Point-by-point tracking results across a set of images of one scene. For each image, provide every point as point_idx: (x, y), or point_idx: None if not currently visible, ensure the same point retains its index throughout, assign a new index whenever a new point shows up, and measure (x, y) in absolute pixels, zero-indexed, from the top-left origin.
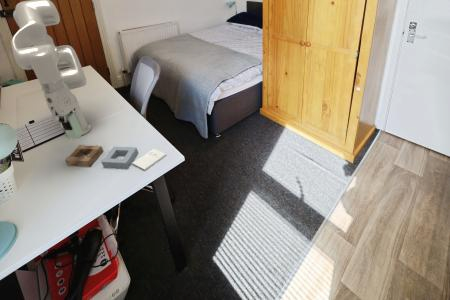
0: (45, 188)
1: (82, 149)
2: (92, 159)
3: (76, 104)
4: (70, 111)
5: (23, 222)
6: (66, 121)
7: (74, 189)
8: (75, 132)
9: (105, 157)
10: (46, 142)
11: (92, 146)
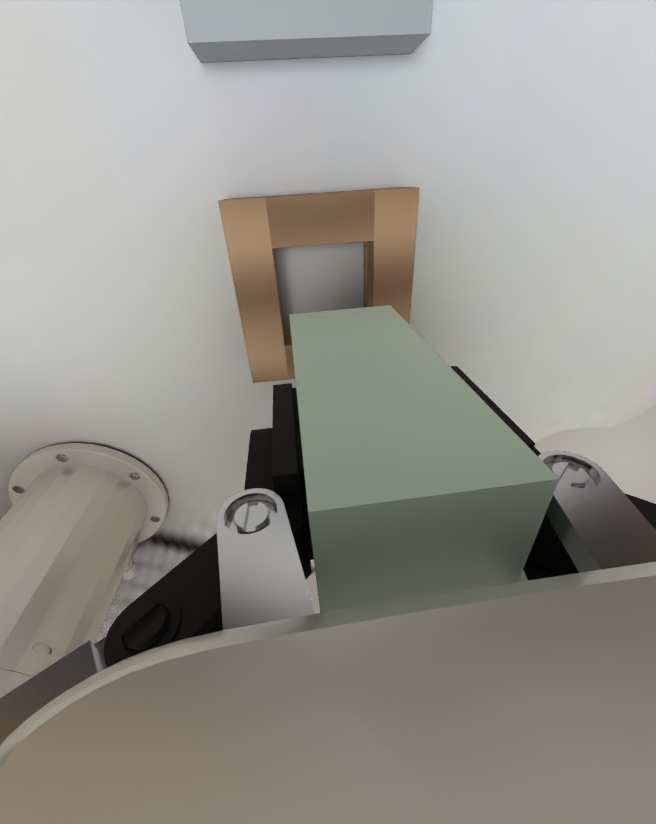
0: (563, 338)
1: (283, 337)
2: (368, 190)
3: (21, 761)
4: (559, 586)
5: None
6: (546, 463)
7: (616, 155)
8: (407, 330)
9: (366, 28)
10: None
11: (242, 280)
